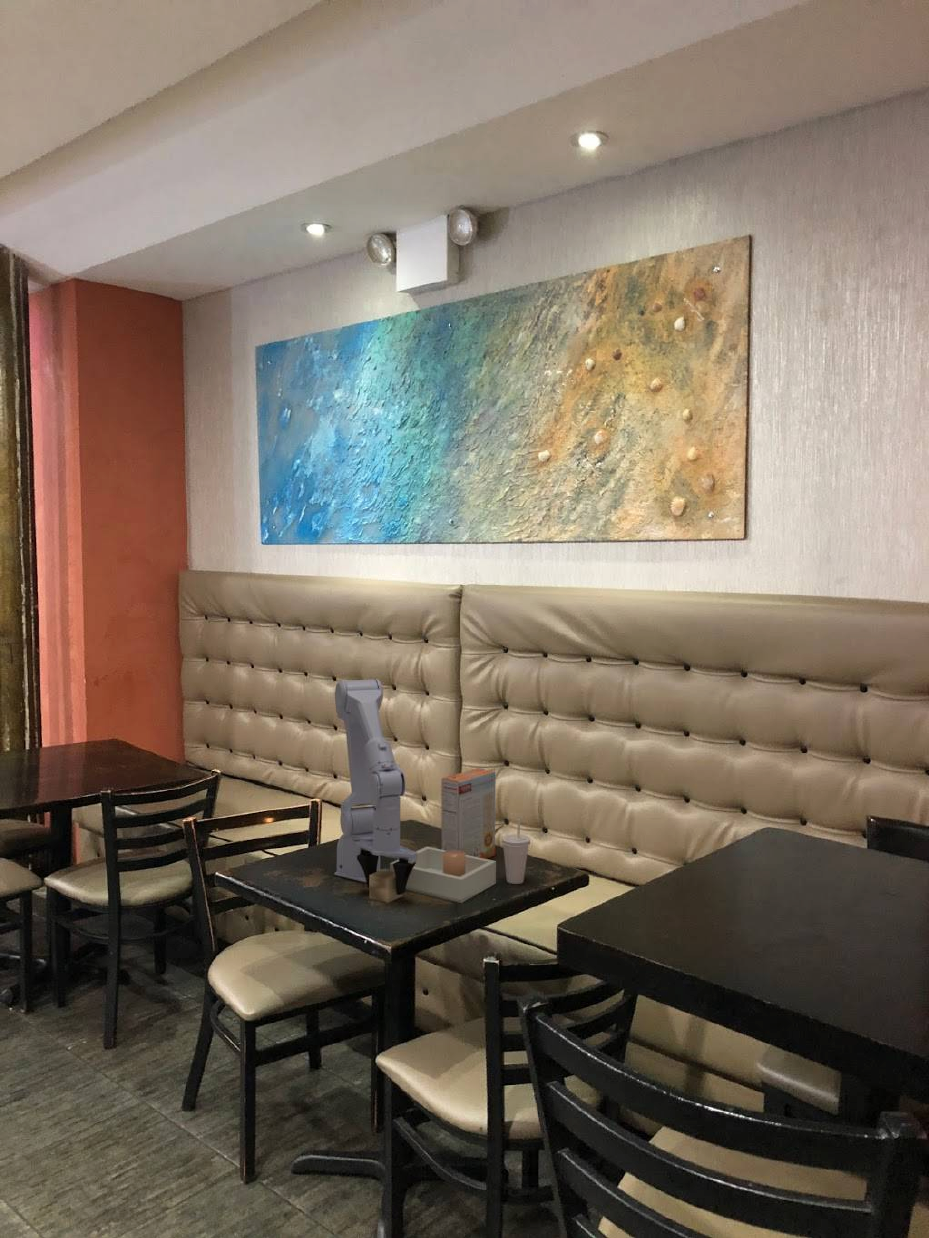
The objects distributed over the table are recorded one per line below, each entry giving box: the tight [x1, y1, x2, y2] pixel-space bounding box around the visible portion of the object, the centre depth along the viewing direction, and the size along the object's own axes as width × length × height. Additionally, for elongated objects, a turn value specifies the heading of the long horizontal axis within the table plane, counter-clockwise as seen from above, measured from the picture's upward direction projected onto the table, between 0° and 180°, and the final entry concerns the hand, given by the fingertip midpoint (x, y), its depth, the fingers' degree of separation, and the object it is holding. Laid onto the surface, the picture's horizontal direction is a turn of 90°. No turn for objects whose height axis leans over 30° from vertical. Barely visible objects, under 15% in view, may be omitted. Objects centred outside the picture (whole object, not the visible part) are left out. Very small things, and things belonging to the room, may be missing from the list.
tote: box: [389, 846, 497, 904], centre depth 209 cm, size 18×14×5 cm
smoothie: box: [501, 818, 531, 885], centre depth 212 cm, size 6×6×14 cm
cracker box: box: [440, 767, 496, 859], centre depth 225 cm, size 14×6×21 cm, turn 141°
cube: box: [368, 868, 403, 904], centre depth 201 cm, size 5×5×5 cm
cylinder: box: [442, 850, 466, 877], centre depth 207 cm, size 5×5×7 cm
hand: (386, 889), depth 201 cm, fingers open, 7 cm apart
